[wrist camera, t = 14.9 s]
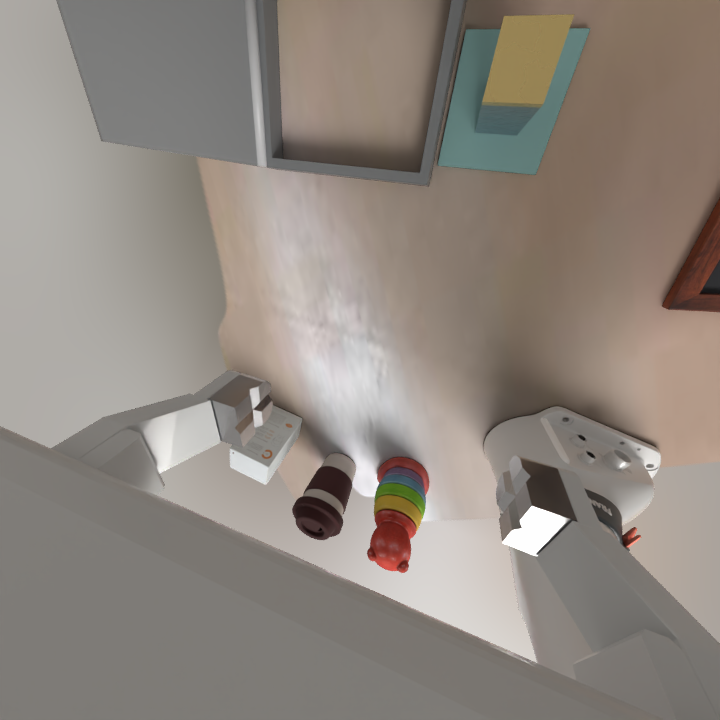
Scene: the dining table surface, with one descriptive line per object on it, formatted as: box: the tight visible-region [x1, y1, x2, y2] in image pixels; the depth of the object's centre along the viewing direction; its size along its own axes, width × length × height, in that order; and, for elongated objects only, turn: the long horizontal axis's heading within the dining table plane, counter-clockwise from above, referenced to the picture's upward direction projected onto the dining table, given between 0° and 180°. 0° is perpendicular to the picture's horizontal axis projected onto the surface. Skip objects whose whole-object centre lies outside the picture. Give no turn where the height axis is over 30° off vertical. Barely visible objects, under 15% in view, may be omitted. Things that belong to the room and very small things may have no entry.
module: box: [475, 14, 574, 136], centre depth 22 cm, size 4×4×10 cm
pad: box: [438, 28, 590, 175], centre depth 26 cm, size 10×10×1 cm
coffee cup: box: [292, 453, 356, 540], centre depth 55 cm, size 10×10×15 cm
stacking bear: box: [367, 457, 429, 573], centre depth 49 cm, size 11×10×18 cm
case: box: [57, 0, 467, 186], centre depth 23 cm, size 27×16×16 cm, turn 84°
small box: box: [230, 405, 303, 485], centre depth 54 cm, size 8×6×13 cm
